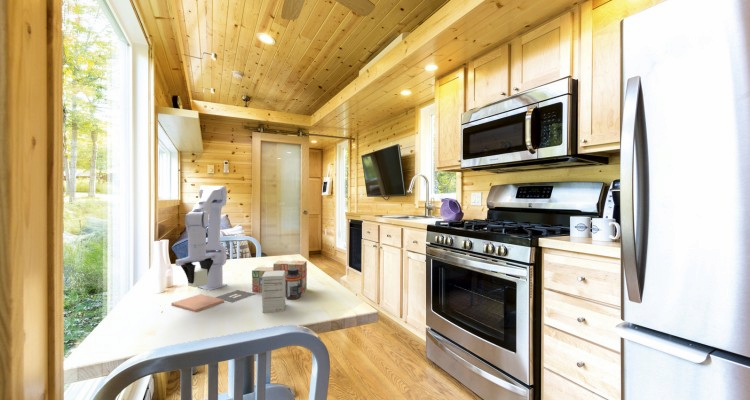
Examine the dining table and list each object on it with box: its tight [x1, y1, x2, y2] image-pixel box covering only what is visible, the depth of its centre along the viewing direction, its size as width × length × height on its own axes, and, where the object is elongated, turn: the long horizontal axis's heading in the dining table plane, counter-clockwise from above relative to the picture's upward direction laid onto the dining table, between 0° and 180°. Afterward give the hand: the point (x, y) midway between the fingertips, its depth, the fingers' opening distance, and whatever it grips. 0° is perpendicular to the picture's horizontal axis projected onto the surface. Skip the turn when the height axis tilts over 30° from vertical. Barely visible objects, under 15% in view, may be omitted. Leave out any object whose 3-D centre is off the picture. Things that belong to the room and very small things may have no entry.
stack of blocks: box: [251, 259, 308, 295], centre depth 130 cm, size 21×6×12 cm, turn 86°
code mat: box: [214, 289, 256, 304], centre depth 123 cm, size 11×11×1 cm
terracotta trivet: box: [171, 293, 225, 313], centre depth 115 cm, size 14×11×1 cm
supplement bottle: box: [285, 268, 302, 300], centre depth 122 cm, size 6×6×11 cm
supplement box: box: [261, 271, 287, 313], centre depth 111 cm, size 7×7×13 cm
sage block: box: [187, 267, 208, 288], centre depth 115 cm, size 4×4×6 cm
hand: (197, 281), depth 115 cm, fingers closed on sage block, 4 cm apart
